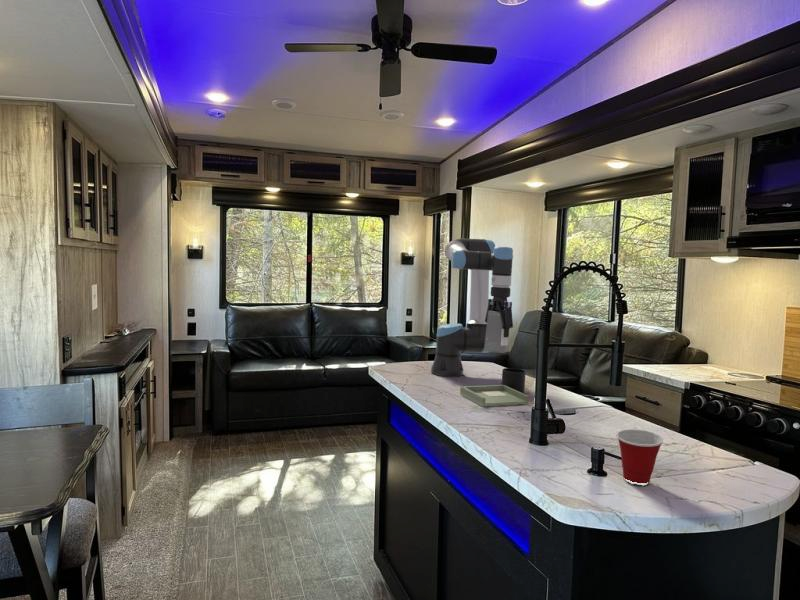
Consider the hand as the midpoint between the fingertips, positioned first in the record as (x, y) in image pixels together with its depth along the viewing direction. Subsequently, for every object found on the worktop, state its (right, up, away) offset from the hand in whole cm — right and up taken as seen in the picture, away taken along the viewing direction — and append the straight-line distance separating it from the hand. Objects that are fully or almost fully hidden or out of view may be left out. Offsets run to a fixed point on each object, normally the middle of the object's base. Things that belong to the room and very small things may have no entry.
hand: (497, 343), depth 211 cm
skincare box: (0, -3, 0) cm, 3 cm away
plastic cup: (+21, -29, -76) cm, 84 cm away
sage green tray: (-2, -22, -2) cm, 22 cm away
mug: (+8, -21, +14) cm, 27 cm away
